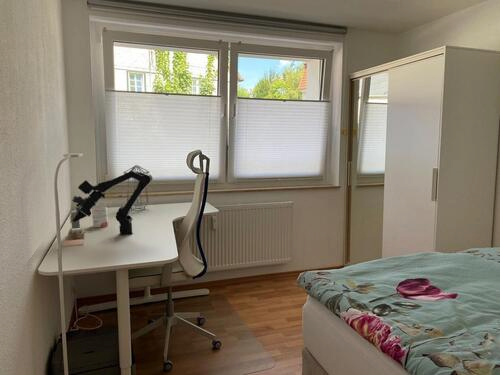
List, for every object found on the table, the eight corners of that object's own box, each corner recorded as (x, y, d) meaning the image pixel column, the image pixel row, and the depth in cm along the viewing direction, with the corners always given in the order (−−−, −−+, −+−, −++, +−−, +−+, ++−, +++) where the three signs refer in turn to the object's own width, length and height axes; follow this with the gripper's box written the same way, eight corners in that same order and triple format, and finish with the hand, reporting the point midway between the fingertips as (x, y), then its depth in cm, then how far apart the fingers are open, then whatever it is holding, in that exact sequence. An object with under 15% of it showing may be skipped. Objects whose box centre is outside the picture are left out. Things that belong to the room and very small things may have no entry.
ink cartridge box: (108, 224, 241) (106, 202, 239) (107, 226, 237) (106, 203, 235) (94, 225, 239) (92, 203, 237) (92, 227, 234) (91, 204, 232)
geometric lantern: (123, 211, 286) (121, 165, 282) (135, 207, 300) (133, 164, 297) (141, 212, 281) (139, 165, 277) (152, 208, 296) (151, 164, 292)
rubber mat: (83, 240, 205) (83, 239, 205) (83, 245, 196) (82, 243, 196) (63, 242, 201) (63, 241, 201) (61, 247, 192) (61, 246, 192)
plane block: (84, 233, 218) (84, 226, 218) (83, 238, 208) (83, 230, 208) (69, 235, 215) (68, 227, 215) (68, 240, 205) (67, 232, 205)
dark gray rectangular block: (79, 226, 214) (78, 211, 213) (79, 227, 210) (78, 212, 209) (70, 227, 212) (69, 211, 211) (70, 228, 208) (69, 213, 207)
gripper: (78, 188, 218) (59, 209, 214) (83, 192, 203) (62, 214, 198) (93, 200, 223) (74, 220, 219) (99, 205, 208) (79, 227, 204)
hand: (72, 220), depth 210 cm, fingers closed on dark gray rectangular block, 4 cm apart
